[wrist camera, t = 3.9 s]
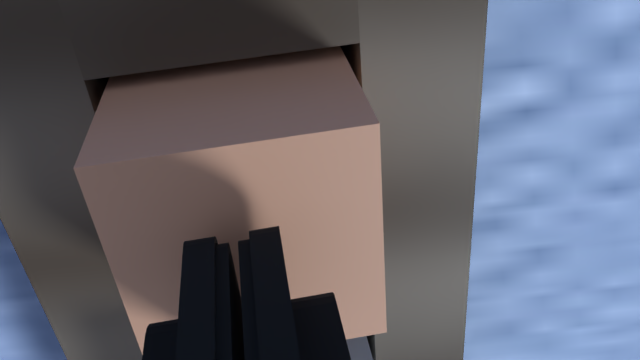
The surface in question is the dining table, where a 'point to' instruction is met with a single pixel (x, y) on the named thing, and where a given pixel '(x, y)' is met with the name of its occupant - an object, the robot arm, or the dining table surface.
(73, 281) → the console
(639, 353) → the dining table surface
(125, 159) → the terracotta button
